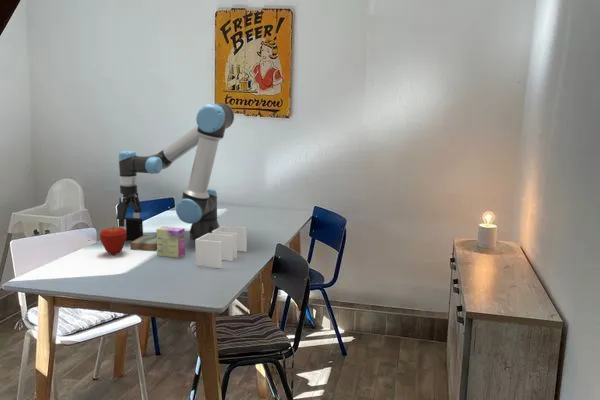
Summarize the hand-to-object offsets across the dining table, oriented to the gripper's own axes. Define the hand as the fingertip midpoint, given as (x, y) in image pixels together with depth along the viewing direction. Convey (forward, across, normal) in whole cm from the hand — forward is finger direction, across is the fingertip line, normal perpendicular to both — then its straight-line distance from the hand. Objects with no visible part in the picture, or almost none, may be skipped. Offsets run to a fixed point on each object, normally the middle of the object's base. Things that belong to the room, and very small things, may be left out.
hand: (130, 229), depth 271 cm
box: (+4, +20, +29) cm, 35 cm away
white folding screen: (+4, +20, +51) cm, 55 cm away
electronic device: (+5, 0, 0) cm, 5 cm away
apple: (+5, +22, +4) cm, 23 cm away
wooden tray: (+5, +8, +14) cm, 16 cm away
